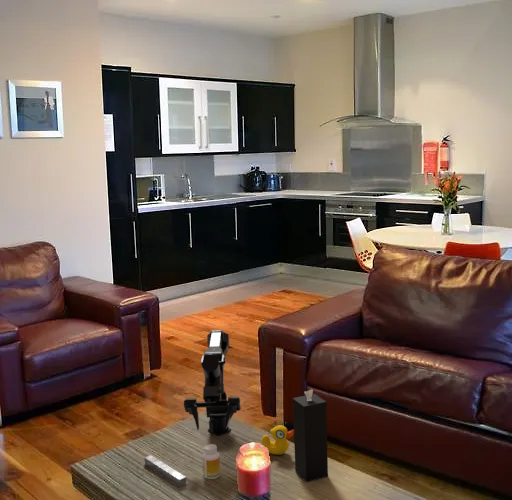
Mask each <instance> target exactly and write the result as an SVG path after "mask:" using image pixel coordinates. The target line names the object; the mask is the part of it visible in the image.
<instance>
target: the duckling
mask: <svg viewBox="0 0 512 500" xmlns="http://www.w3.org/2000/svg"><path fill="white" fill-rule="evenodd" d="M269 433H270V435H271V436H272V438H273V440H274V441H273V440H271V439H270V437H269V435H268V434H264V435H263V436H262V438H261V446H262V445H264V446H265V447H267V448H268V450H269V454H271V455H278V456H279V455H283V454H285V453H286V452H287V451H288V449H289V448H290V442H289V441H288V439H291V438H292V437H294V428H293V429H291V430H289V431H288V428H287V427H286V426H284V425H282V424H281V425H280V424H279V425H276V426H274V427H273V428H271V429H270V431H269Z"/></svg>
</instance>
